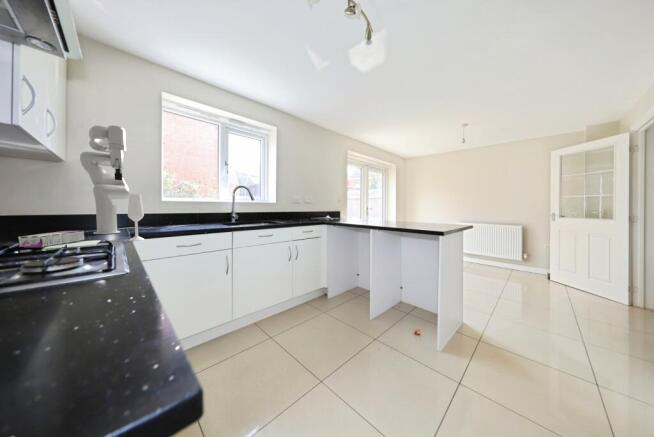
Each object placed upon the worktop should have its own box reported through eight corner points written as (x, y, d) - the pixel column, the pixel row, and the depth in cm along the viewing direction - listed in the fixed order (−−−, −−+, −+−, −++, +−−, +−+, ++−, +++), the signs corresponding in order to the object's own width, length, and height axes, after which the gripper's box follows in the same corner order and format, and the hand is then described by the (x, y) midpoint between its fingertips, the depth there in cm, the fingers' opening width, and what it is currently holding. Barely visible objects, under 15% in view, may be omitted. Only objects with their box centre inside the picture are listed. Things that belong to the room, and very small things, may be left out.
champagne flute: (126, 240, 120) (124, 194, 118) (131, 239, 126) (129, 194, 124) (142, 240, 122) (140, 194, 121) (146, 238, 128) (145, 195, 127)
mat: (56, 243, 109) (56, 242, 109) (100, 240, 119) (100, 240, 119) (42, 249, 95) (42, 248, 95) (94, 245, 104) (94, 244, 104)
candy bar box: (65, 240, 115) (18, 247, 99) (64, 230, 115) (17, 236, 99) (85, 240, 114) (41, 247, 98) (84, 230, 114) (39, 235, 97)
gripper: (110, 149, 139) (111, 180, 140) (106, 144, 127) (108, 178, 128) (126, 151, 143) (127, 181, 144) (124, 146, 132) (126, 179, 133)
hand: (118, 179), depth 136 cm, fingers closed
